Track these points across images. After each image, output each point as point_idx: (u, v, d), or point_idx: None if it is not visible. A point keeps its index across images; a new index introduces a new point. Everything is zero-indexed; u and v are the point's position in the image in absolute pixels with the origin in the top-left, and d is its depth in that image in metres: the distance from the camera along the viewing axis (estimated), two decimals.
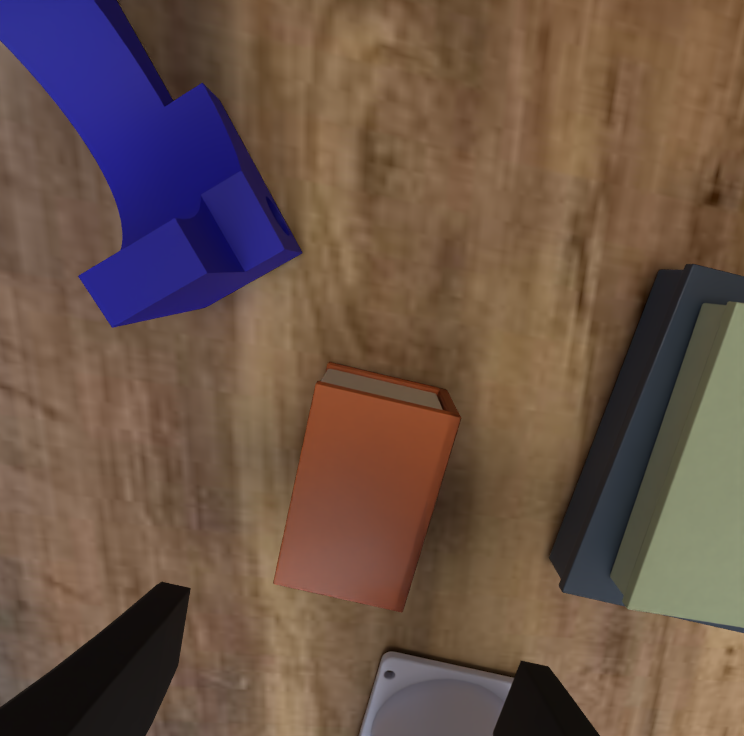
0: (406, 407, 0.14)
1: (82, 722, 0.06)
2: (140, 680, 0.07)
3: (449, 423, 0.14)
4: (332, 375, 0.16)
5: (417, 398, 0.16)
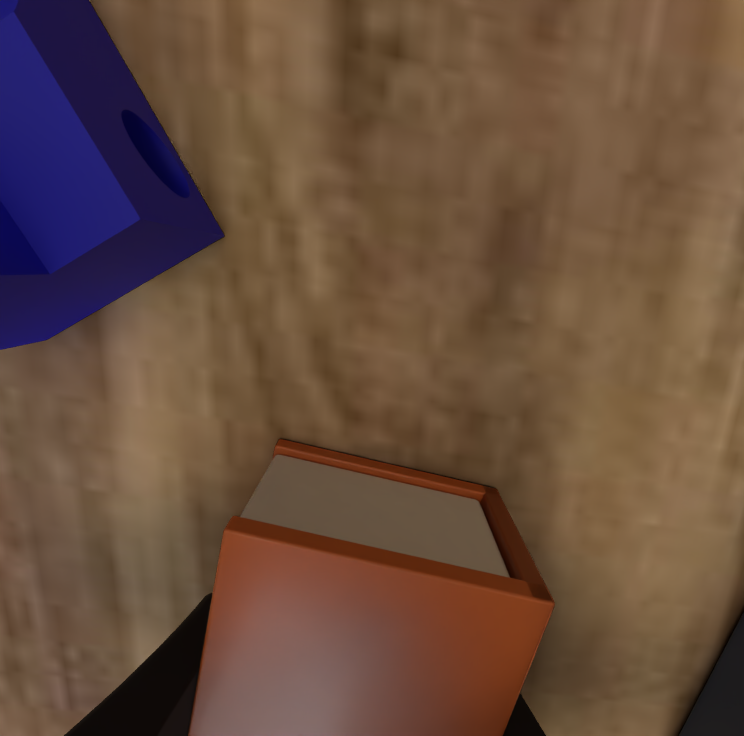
0: (431, 582, 0.06)
1: None
2: None
3: (528, 615, 0.06)
4: (278, 479, 0.08)
5: (449, 528, 0.08)
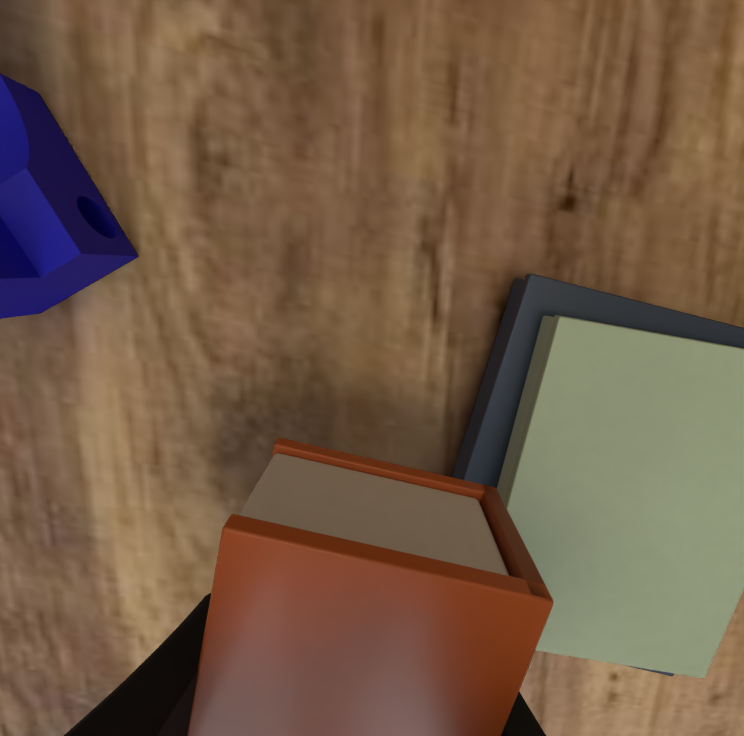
0: (430, 581, 0.06)
1: None
2: None
3: (527, 613, 0.06)
4: (277, 477, 0.08)
5: (448, 527, 0.08)
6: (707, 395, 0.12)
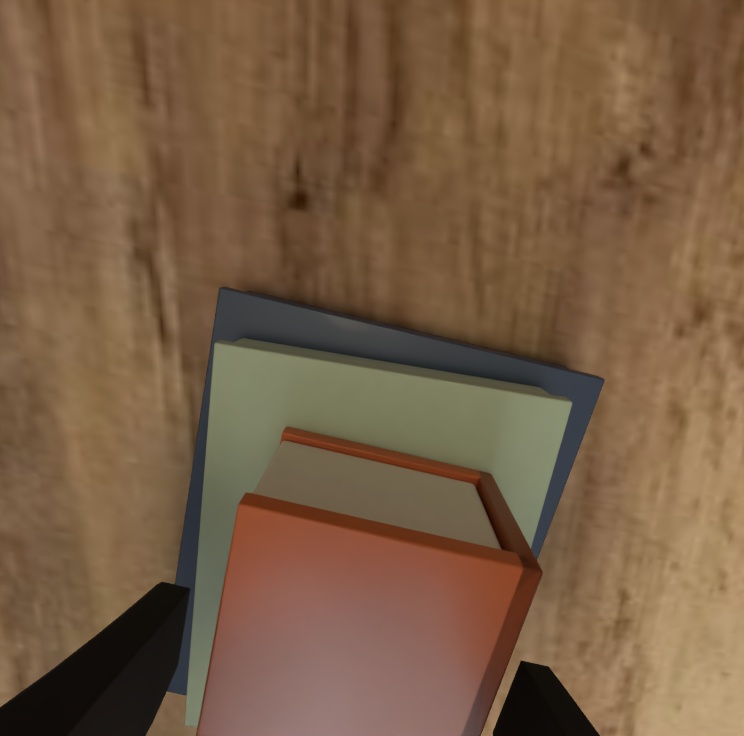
0: (429, 553, 0.07)
1: (82, 722, 0.06)
2: (140, 680, 0.07)
3: (518, 583, 0.07)
4: (286, 462, 0.09)
5: (446, 508, 0.08)
6: (412, 438, 0.10)
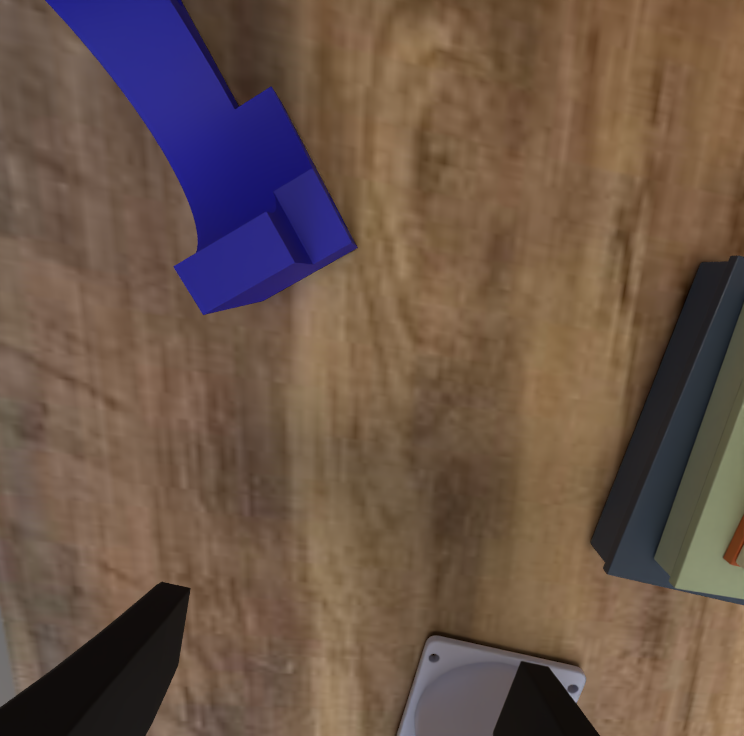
0: None
1: (82, 722, 0.06)
2: (140, 680, 0.07)
3: None
4: None
5: None
6: None
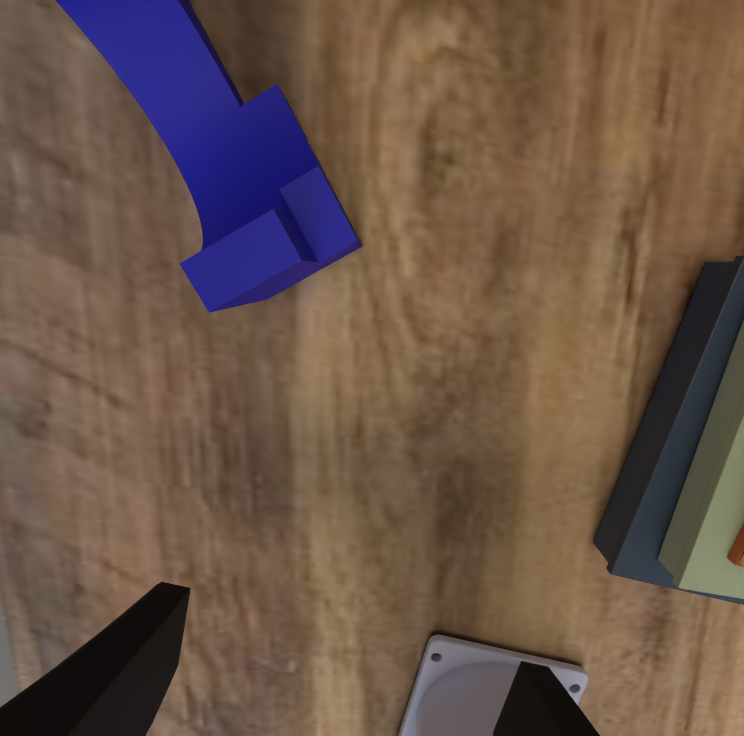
0: None
1: (82, 722, 0.06)
2: (140, 680, 0.07)
3: None
4: None
5: None
6: None
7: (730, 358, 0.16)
